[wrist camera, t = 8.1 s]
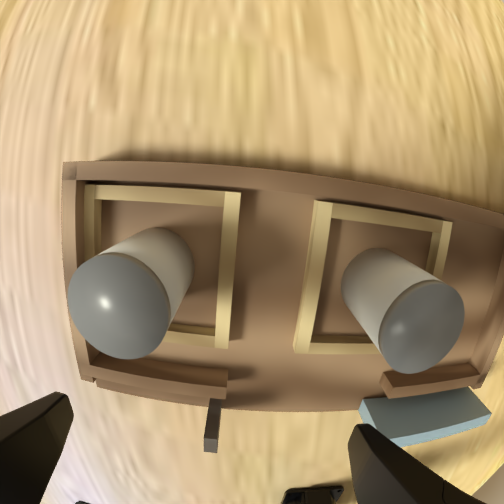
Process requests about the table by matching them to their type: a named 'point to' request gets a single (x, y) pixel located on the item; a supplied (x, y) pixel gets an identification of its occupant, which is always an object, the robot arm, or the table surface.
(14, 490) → the robot arm
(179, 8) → the table surface
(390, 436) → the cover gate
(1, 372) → the table surface
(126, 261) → the grey pin
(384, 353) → the pin
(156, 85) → the table surface
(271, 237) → the tray
